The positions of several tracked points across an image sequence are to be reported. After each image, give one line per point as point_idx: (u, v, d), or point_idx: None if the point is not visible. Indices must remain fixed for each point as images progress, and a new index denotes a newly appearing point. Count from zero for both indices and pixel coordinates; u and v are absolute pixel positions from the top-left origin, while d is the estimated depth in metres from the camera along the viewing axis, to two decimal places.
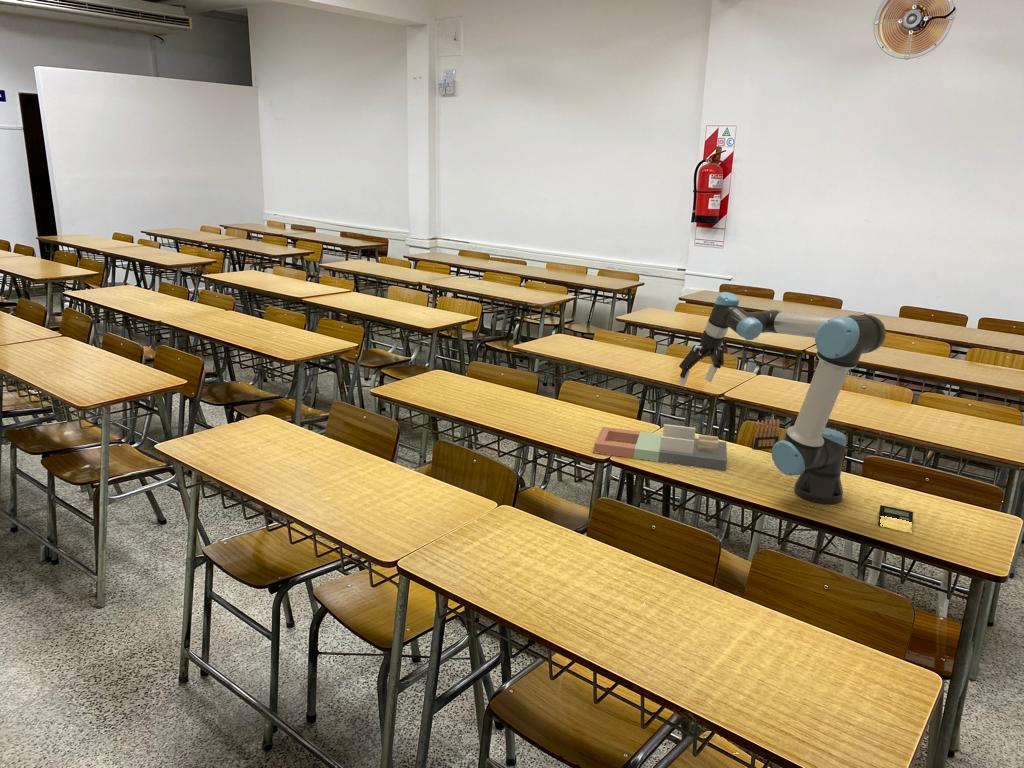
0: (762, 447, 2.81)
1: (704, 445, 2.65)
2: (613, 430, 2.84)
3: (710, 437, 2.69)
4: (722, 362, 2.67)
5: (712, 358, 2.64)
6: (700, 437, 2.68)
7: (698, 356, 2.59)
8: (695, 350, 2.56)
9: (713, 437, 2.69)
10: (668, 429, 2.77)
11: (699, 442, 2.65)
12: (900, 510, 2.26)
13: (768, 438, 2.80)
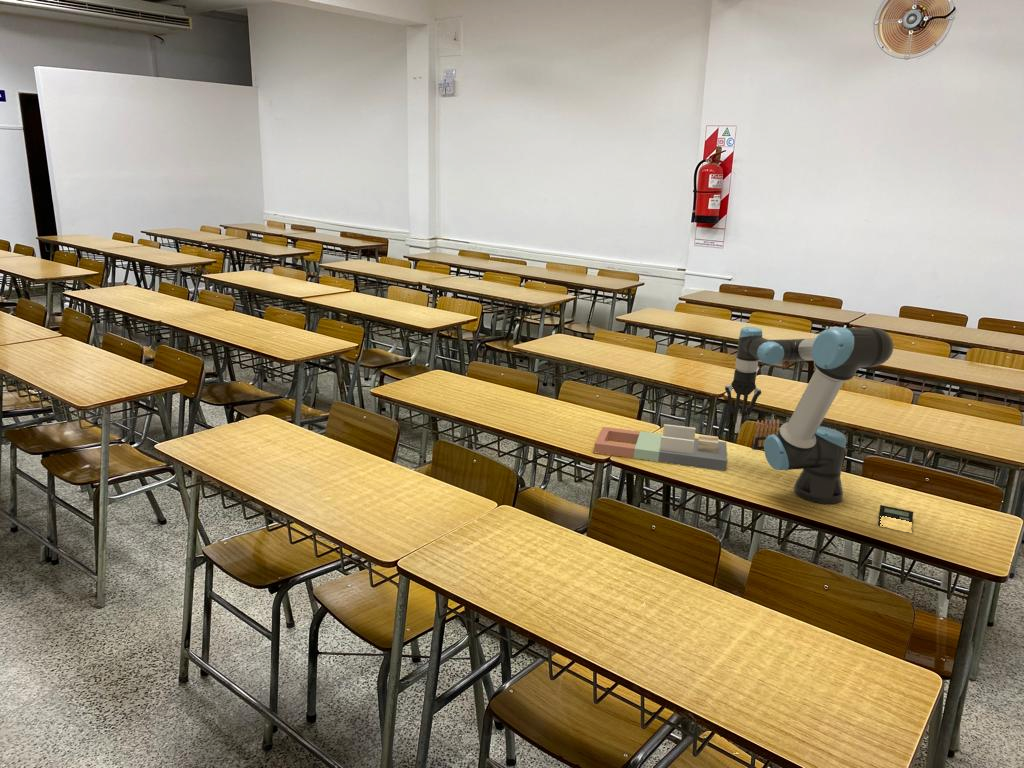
0: (762, 447, 2.81)
1: (704, 445, 2.65)
2: (613, 430, 2.84)
3: (710, 437, 2.69)
4: (749, 411, 2.59)
5: (743, 402, 2.60)
6: (700, 437, 2.68)
7: (736, 396, 2.60)
8: (726, 391, 2.60)
9: (713, 437, 2.69)
10: (668, 429, 2.77)
11: (699, 442, 2.65)
12: (900, 510, 2.26)
13: None
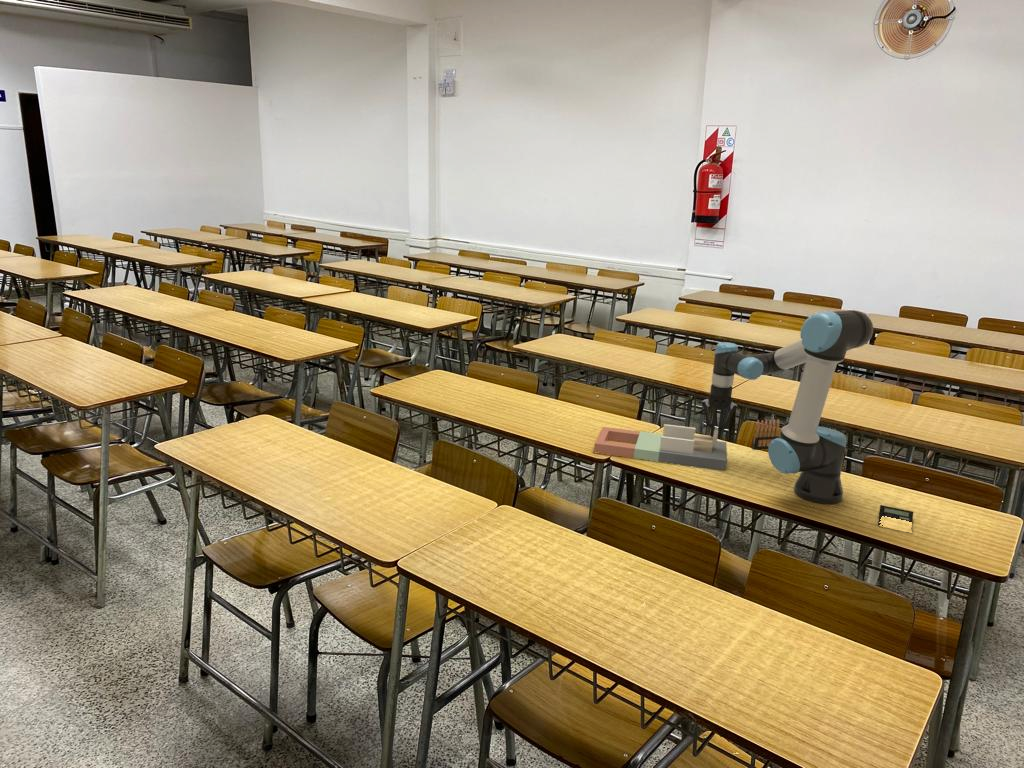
0: (762, 447, 2.81)
1: (699, 445, 2.65)
2: (613, 430, 2.84)
3: (705, 436, 2.69)
4: (726, 425, 2.63)
5: None
6: (695, 436, 2.69)
7: (713, 411, 2.64)
8: None
9: (708, 436, 2.69)
10: (668, 429, 2.77)
11: (694, 441, 2.65)
12: (900, 510, 2.26)
13: (768, 438, 2.80)
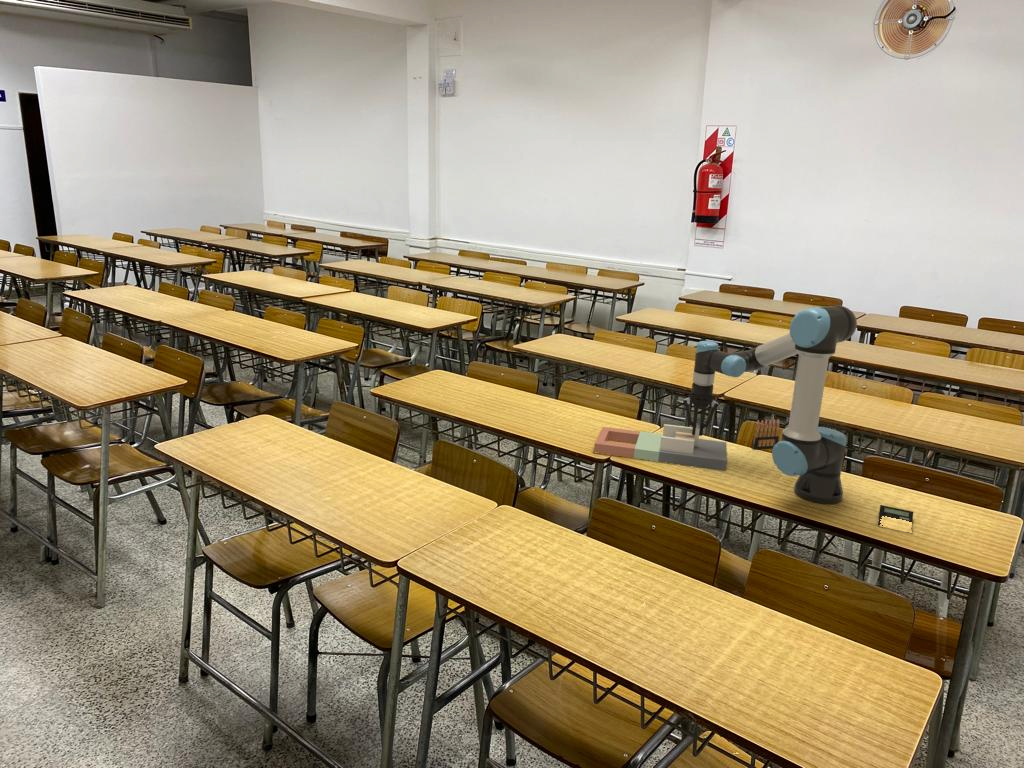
0: (762, 447, 2.81)
1: None
2: (613, 430, 2.84)
3: (687, 434, 2.71)
4: (707, 423, 2.65)
5: (701, 414, 2.66)
6: (677, 434, 2.70)
7: None
8: None
9: (690, 434, 2.71)
10: (668, 429, 2.77)
11: None
12: (900, 510, 2.26)
13: (768, 438, 2.80)
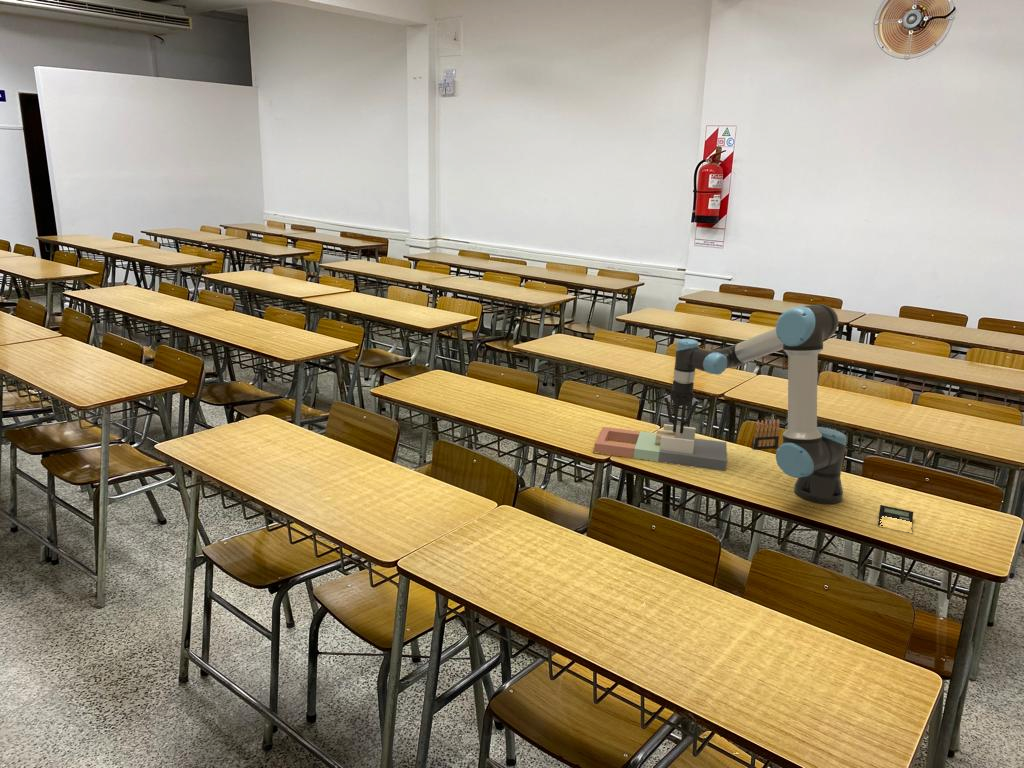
0: (762, 447, 2.81)
1: None
2: (613, 430, 2.84)
3: (668, 432, 2.73)
4: (688, 421, 2.66)
5: None
6: (658, 432, 2.72)
7: (675, 406, 2.67)
8: None
9: (671, 432, 2.73)
10: (668, 429, 2.77)
11: (656, 436, 2.69)
12: (900, 510, 2.26)
13: (768, 438, 2.80)
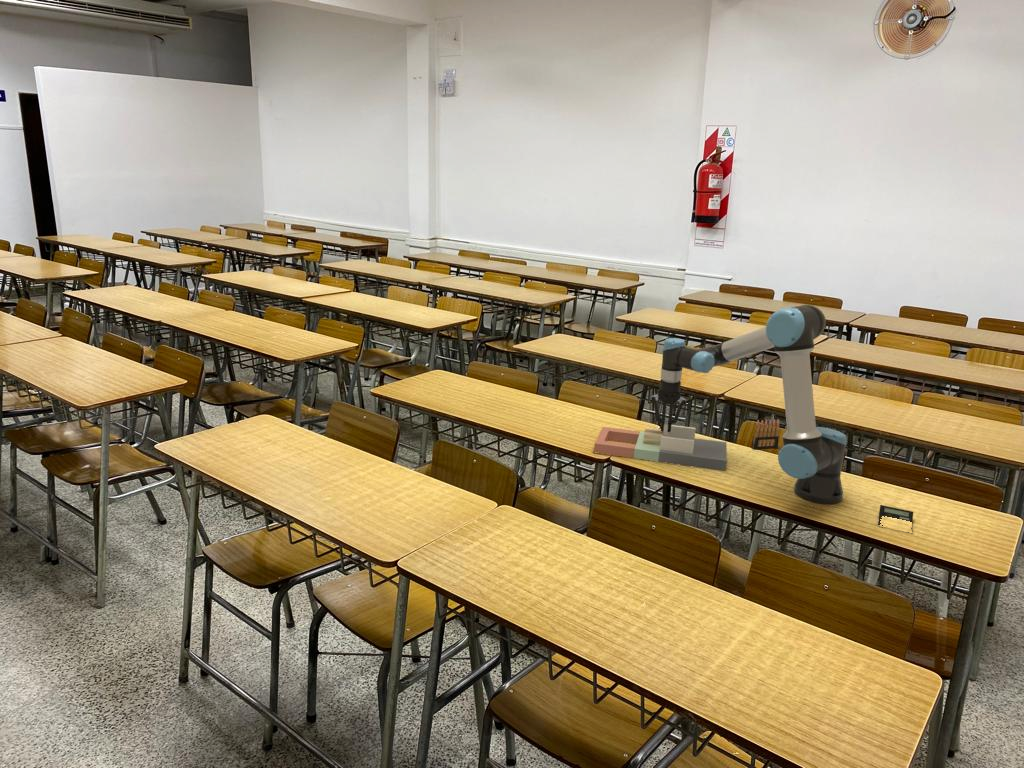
0: (762, 447, 2.81)
1: (650, 438, 2.70)
2: (613, 430, 2.84)
3: (656, 430, 2.74)
4: (675, 420, 2.68)
5: (669, 411, 2.69)
6: (646, 430, 2.73)
7: None
8: None
9: (659, 430, 2.74)
10: None
11: (645, 435, 2.70)
12: (900, 510, 2.26)
13: (768, 438, 2.80)
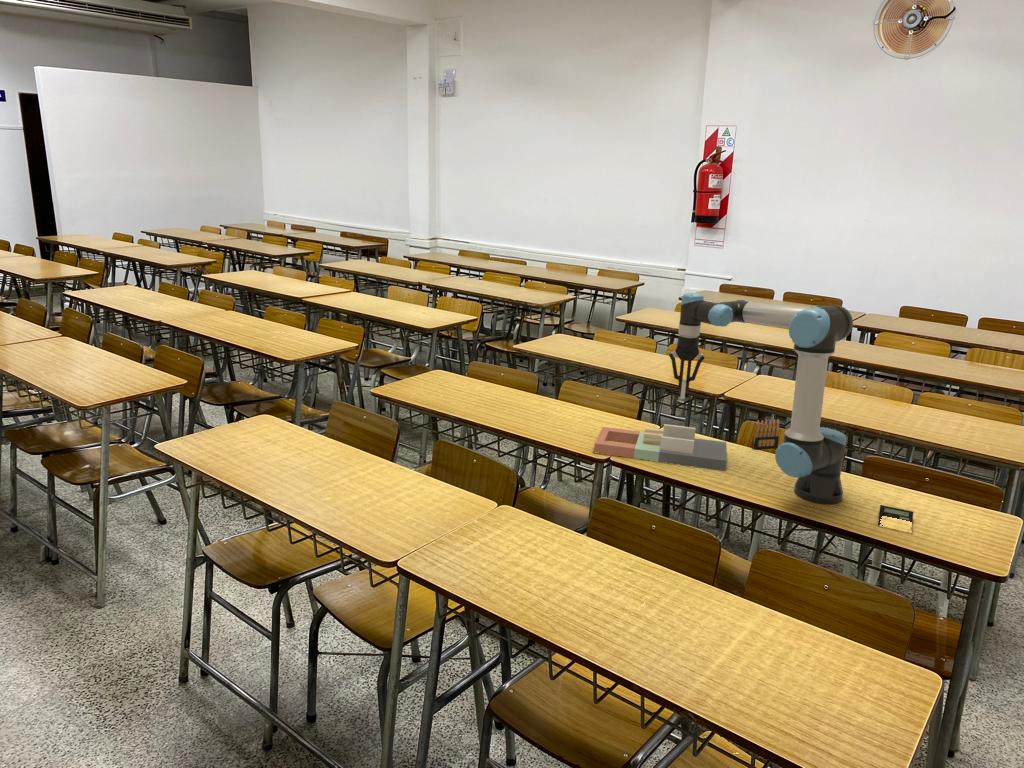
0: (762, 447, 2.81)
1: (650, 438, 2.70)
2: (613, 430, 2.84)
3: (656, 430, 2.74)
4: (693, 377, 2.62)
5: (687, 368, 2.64)
6: (646, 430, 2.73)
7: None
8: None
9: (659, 430, 2.74)
10: (668, 429, 2.77)
11: (645, 435, 2.70)
12: (900, 510, 2.26)
13: (768, 438, 2.80)
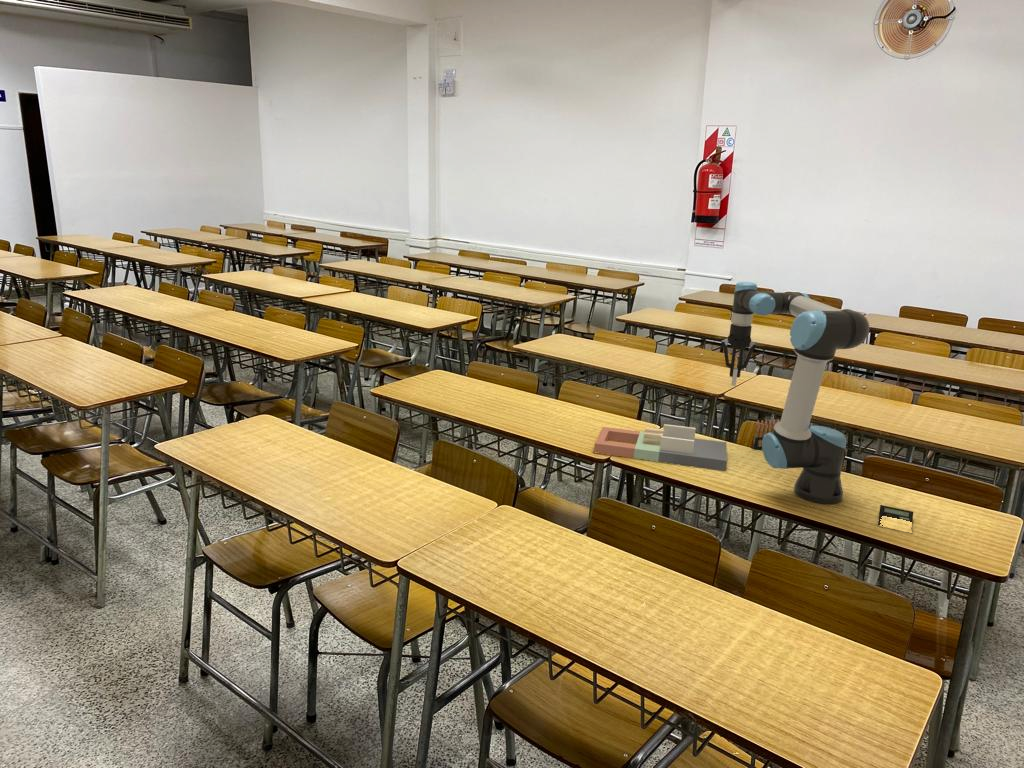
0: None
1: (650, 438, 2.70)
2: (613, 430, 2.84)
3: (656, 430, 2.74)
4: (745, 364, 2.67)
5: (739, 355, 2.68)
6: (646, 430, 2.73)
7: None
8: (722, 345, 2.68)
9: (659, 430, 2.74)
10: (668, 429, 2.77)
11: (645, 435, 2.70)
12: (900, 510, 2.26)
13: None
